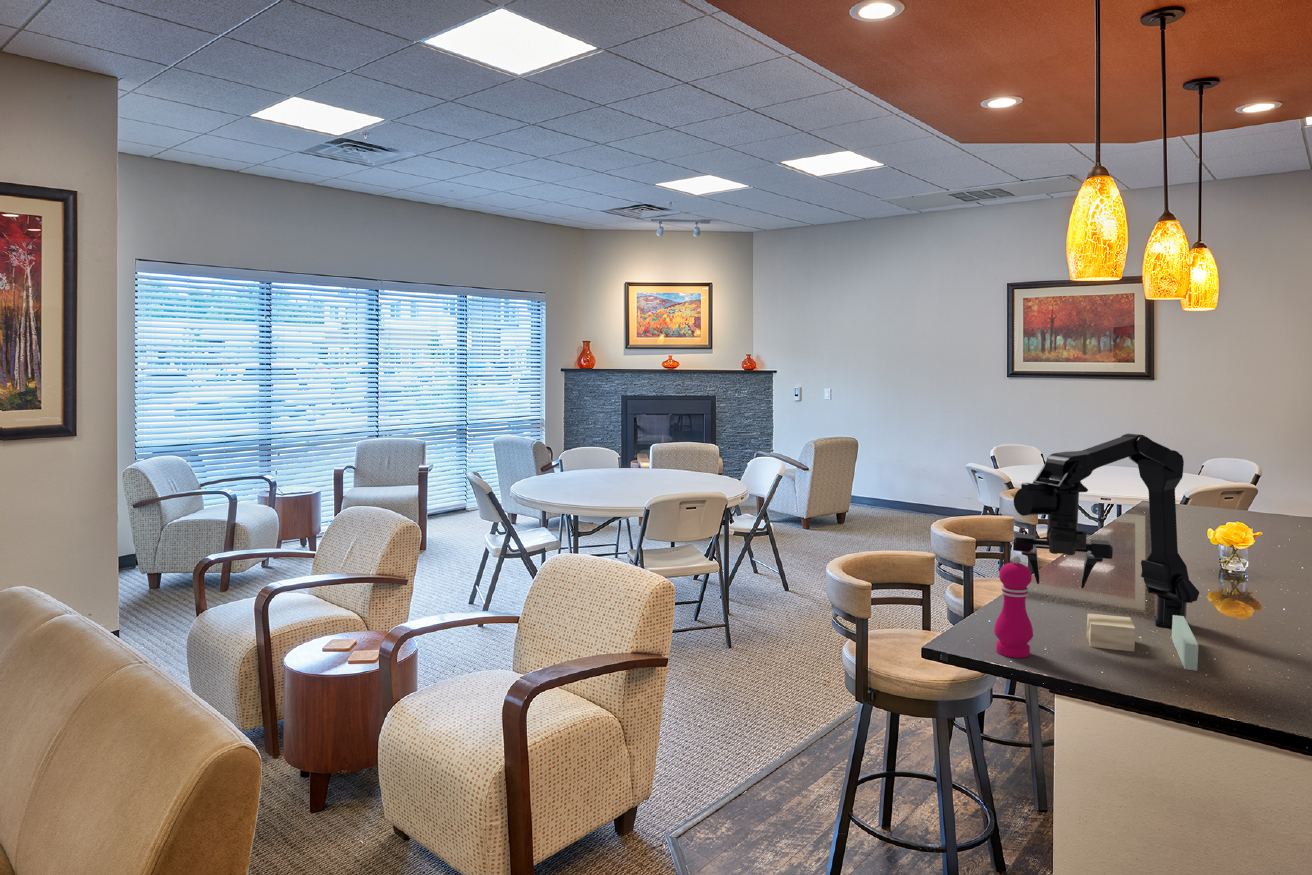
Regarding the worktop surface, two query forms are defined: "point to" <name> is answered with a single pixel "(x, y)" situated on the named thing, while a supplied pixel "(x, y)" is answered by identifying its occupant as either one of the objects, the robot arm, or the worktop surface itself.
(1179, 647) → the sage board
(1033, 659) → the worktop surface
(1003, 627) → the pepper mill
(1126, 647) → the maple block
